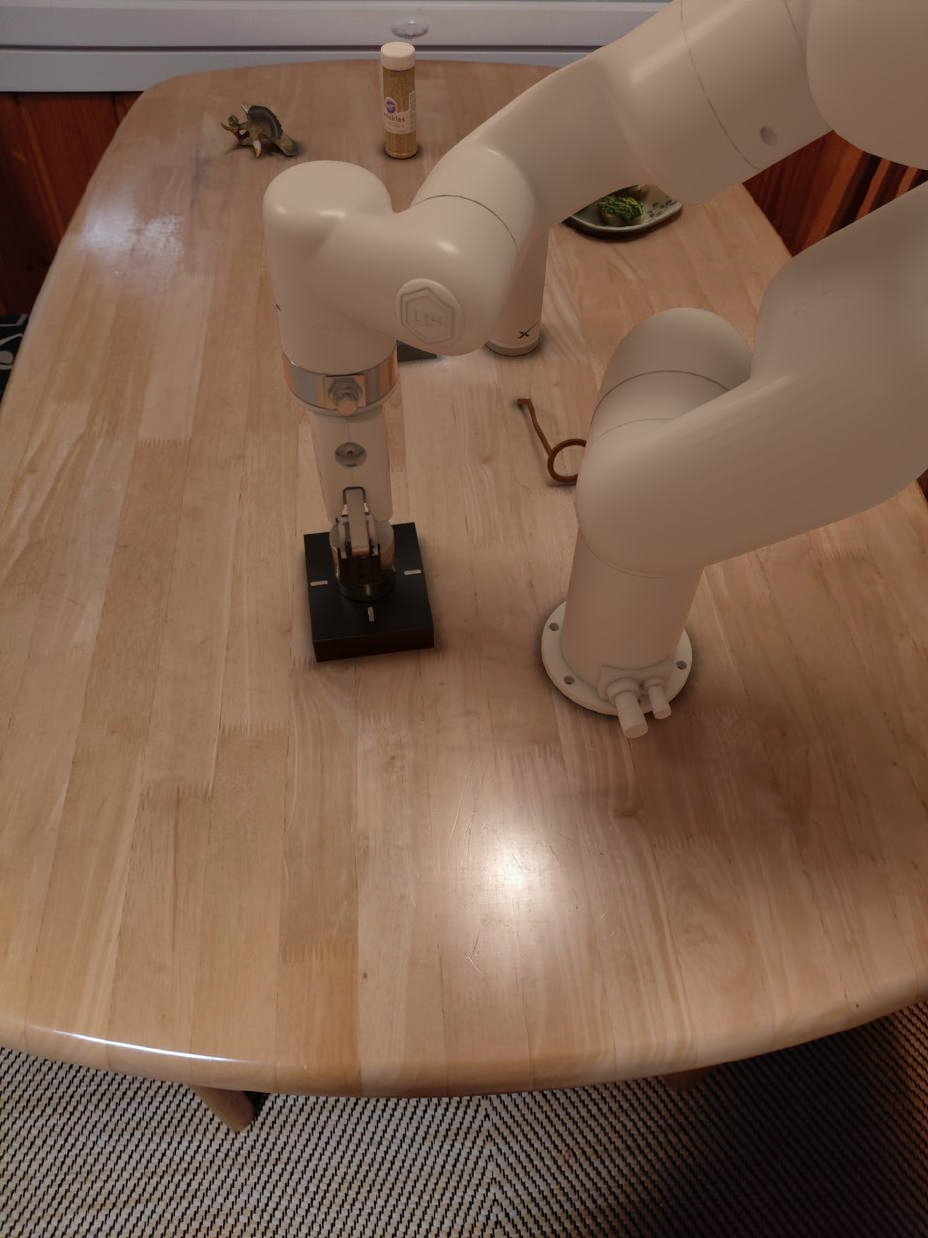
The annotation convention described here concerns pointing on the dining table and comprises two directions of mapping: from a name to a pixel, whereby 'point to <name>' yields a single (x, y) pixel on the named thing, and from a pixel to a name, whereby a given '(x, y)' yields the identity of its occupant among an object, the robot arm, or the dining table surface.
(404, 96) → the sprinkles bottle
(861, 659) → the dining table surface
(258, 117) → the brown horned dinosaur figurine
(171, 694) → the dining table surface
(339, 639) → the dial panel
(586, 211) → the avocado toast plate
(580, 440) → the glasses
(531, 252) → the travel mug
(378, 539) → the program dial
